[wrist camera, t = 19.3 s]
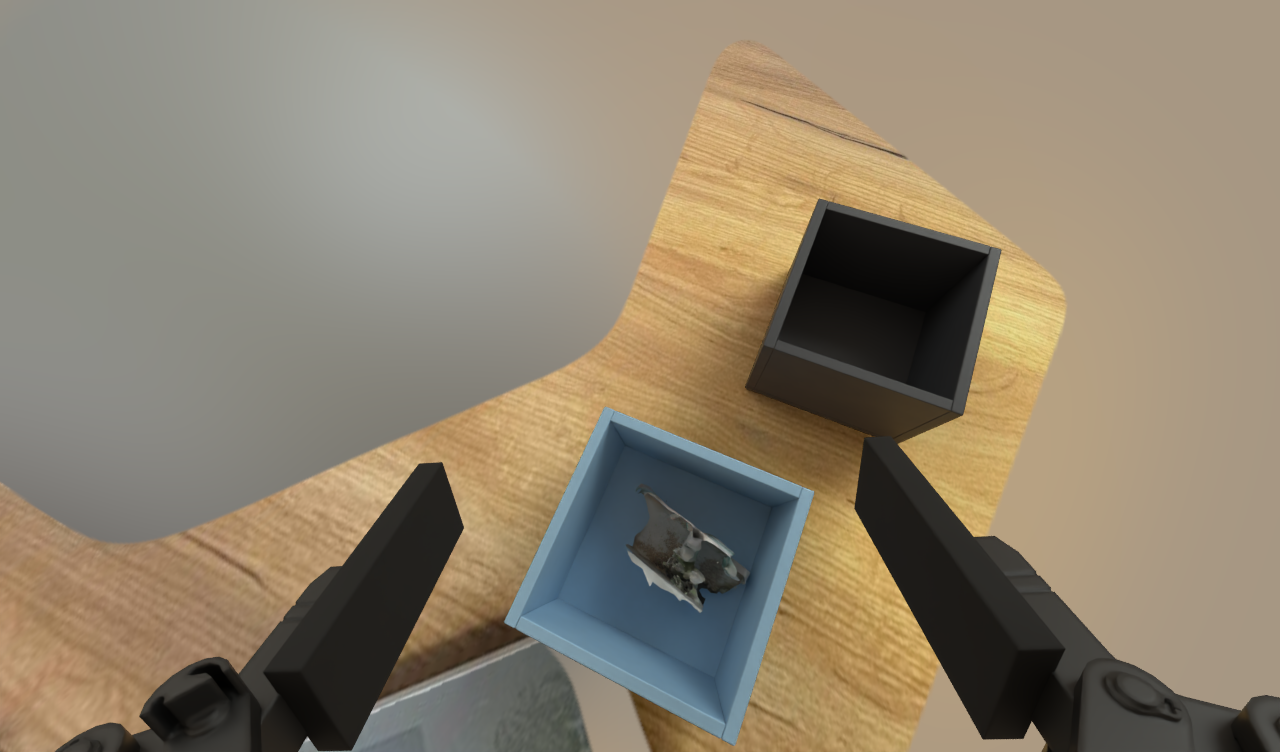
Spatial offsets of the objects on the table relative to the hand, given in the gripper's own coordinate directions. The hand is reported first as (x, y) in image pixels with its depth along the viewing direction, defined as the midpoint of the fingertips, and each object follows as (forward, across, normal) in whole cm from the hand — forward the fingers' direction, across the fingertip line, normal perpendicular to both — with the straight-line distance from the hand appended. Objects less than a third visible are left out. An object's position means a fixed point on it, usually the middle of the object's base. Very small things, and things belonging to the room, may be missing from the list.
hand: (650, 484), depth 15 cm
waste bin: (+19, +13, -4) cm, 23 cm away
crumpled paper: (+9, 0, -13) cm, 16 cm away
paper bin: (+10, 0, -13) cm, 16 cm away
